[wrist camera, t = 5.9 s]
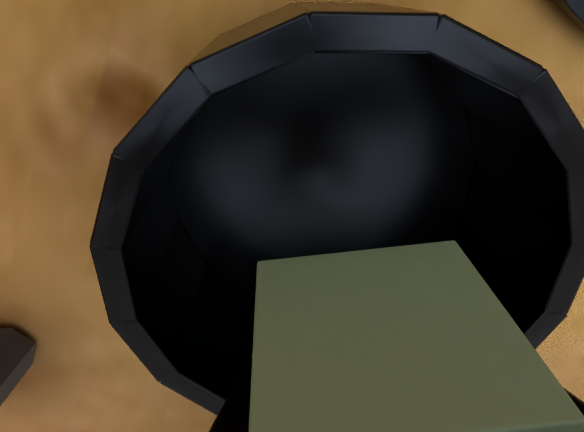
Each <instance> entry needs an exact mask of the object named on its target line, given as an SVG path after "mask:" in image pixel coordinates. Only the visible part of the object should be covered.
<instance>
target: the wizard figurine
mask: <svg viewBox="0 0 584 432" xmlns="http://www.w3.org/2000/svg"><path fill="white" fill-rule="evenodd" d="M34 348H35V343H34V342H32V341H31V340H29V339H28V338H26V337H25V336H23V335H22V334H20V333H18V332H17V331H15V330H14V329H12V328H1V329H0V406H1V405H2V403H3V402H4V401H5V399H6V398H7V397H8V395H9V394H10V393H11V391H12V390H13V389H14V387H15V386H16V385H17V383H18V382H19V381H20V379H21V378H22V377H23V375H24V374H25V373H26V371H27V370H28V369H29V367H30V366H31V365H32V363H33V356H34Z"/></svg>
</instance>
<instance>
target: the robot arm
mask: <svg viewBox="0 0 584 432" xmlns="http://www.w3.org/2000/svg"><path fill="white" fill-rule="evenodd" d="M251 375H252V355H251V356H250V357H249V359H248V360H247V362H246V364H245V366H244V368H243V370H242V371H241V373H240V375H239V377H238V379H237V381H236V382H235V384H234V386H233V388H232V390H231V392H230V393H229V395H228V397H227V399H226V401H225V403H224V405H223V406H222V408H221V410H220V412H219V414H218V416H217V417H216V419H215V421H214V423H213V425H212V427H211V429H210V430H209V432H249V415H250V395H251ZM564 390H565V391H566V392H567V394H568V395H569V396H570V398H571V399H572V401H573V402H574V403H575V405H576V406H577V407H578V409H579V410H580V411H581V413H582V414H583V416H584V402H583V401H581V400H580V399H579V398H577V397H576V396H574V395H573V394H572V393H570V392H569V391H567V390H566V389H565V388H564ZM583 432H584V431H583Z"/></svg>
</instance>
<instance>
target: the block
mask: <svg viewBox="0 0 584 432" xmlns="http://www.w3.org/2000/svg"><path fill="white" fill-rule="evenodd" d="M583 431H584V416H583V414H582V413H581V411H580V410H579V409H578V407H577V406H576V405H575V403H574V402H573V401H572V399H571V398H570V396H569V395H568V394H567V392H566V391H565V390H564V388H563V387H562V386H561V384H560V383H559V382H558V380H557V379H556V377H555V376H554V375H553V373H552V372H551V371H550V369H549V368H548V367H547V365H546V364H545V362H544V361H543V360H542V358H541V357H540V356H539V354H538V353H537V352H536V350H535V349H534V347H533V346H532V345H531V343H530V342H529V341H528V339H527V338H526V337H525V335H524V334H523V333H522V331H521V330H520V328H519V327H518V326H517V324H516V323H515V322H514V320H513V319H512V318H511V316H510V315H509V313H508V312H507V311H506V309H505V308H504V307H503V305H502V304H501V303H500V301H499V300H498V298H497V297H496V296H495V294H494V293H493V292H492V290H491V289H490V288H489V286H488V285H487V283H486V282H485V281H484V279H483V278H482V277H481V275H480V274H479V273H478V271H477V270H476V269H475V267H474V266H473V264H472V263H471V262H470V260H469V259H468V258H467V256H466V255H465V254H464V252H463V251H462V249H461V248H460V247H459V245H458V244H457V243H456V241H454V240H451V241H442V242H433V243H423V244H414V245H405V246H395V247H386V248H377V249H368V250H358V251H349V252H340V253H330V254H321V255H312V256H303V257H293V258H284V259H275V260H265V261H259V262H257V274H256V295H255V315H254V335H253V355H252V375H251V395H250V415H249V432H583Z"/></svg>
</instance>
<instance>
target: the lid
mask: <svg viewBox="0 0 584 432" xmlns="http://www.w3.org/2000/svg"><path fill="white" fill-rule="evenodd" d="M557 2H558V3H559V5H560V6H561V8H562V9H563V10H564V11H565V12H566V13H567V14H568V15H569V16H570V17H571V18H572V19H573V20H574V21H575V22H576V23H577V24H578V25H579V26H580V27H581V28H582V29H584V0H557Z"/></svg>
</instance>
